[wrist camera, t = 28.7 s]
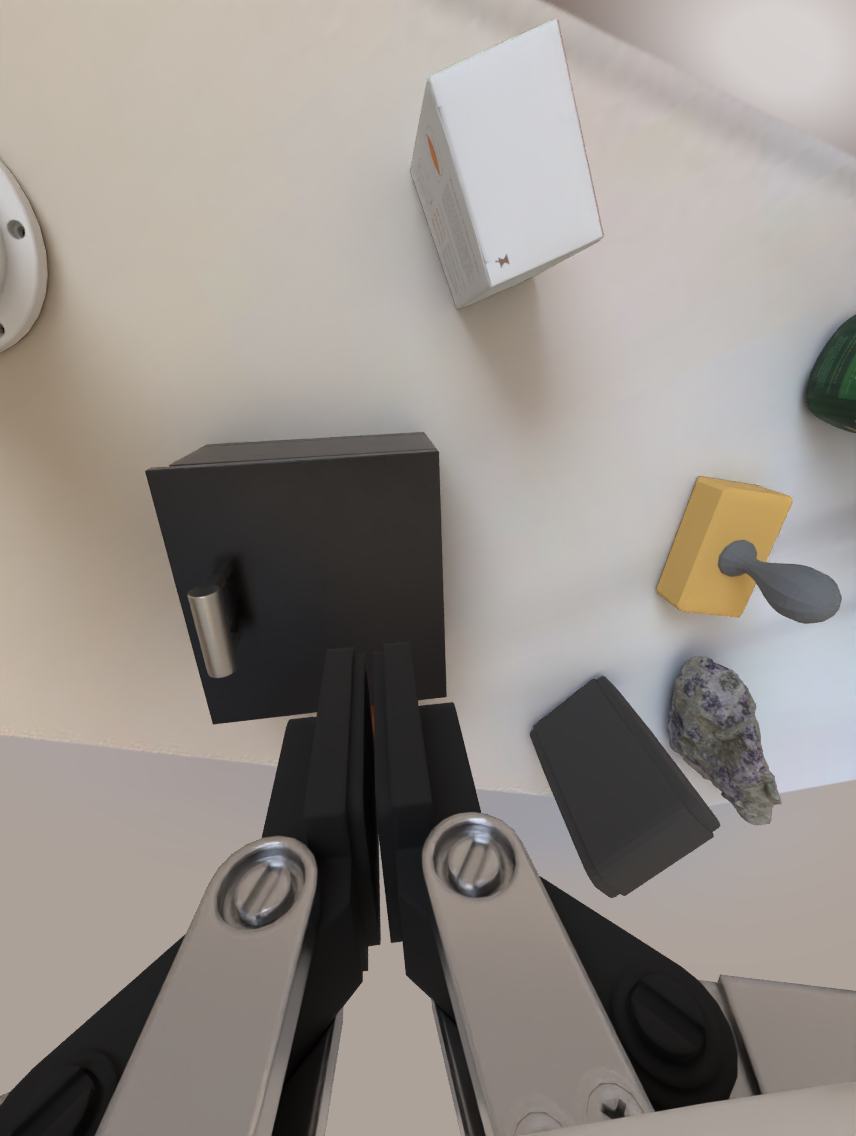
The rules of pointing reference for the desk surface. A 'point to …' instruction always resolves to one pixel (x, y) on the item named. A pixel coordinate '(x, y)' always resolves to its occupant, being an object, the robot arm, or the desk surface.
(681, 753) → the mineral rock
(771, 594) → the rubber stamp
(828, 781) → the desk surface
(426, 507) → the black box lid
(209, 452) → the black open box
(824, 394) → the coffee jar
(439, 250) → the small box
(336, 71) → the desk surface
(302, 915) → the robot arm
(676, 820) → the card reader
